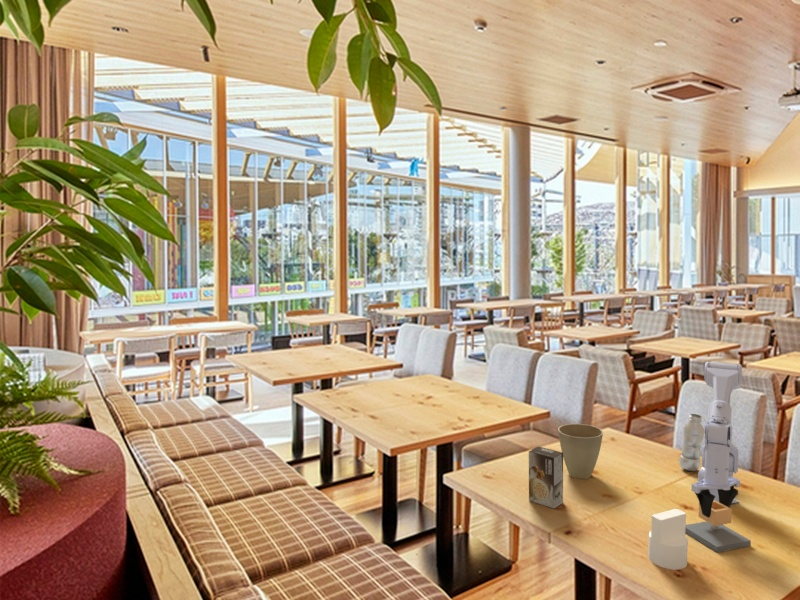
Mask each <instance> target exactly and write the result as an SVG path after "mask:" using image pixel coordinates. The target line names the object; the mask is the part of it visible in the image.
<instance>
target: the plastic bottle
mask: <svg viewBox="0 0 800 600" xmlns="http://www.w3.org/2000/svg"><path fill="white" fill-rule="evenodd" d="M702 417H703V416H702V415H700V414H698V413H690V414H689V418H688V422H687V423H686V424H685V425H684V427H683V446H682V449H681V454H680V456H679V459H678V461H679V467H681V469H683V470H685V471H689V472H697V471H699V469H700V468H701V448H702V447H701V446H702V443H703V440H704V427H703V425H702V419H703V418H702Z"/></svg>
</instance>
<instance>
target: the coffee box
mask: <svg viewBox="0 0 800 600" xmlns="http://www.w3.org/2000/svg"><path fill="white" fill-rule="evenodd" d="M528 501H529V502H532V503H536V504H539V505H542V506H545V507H548V508H552V509H556V508H558V507H560V505H562V504H563V503H564V458H563V452H562V451H558V450H555V449H551V448H550V449H549V448H546V447H542V446H535V447H533V448H532V449H530V450H529V451H528Z"/></svg>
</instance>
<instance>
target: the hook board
mask: <svg viewBox="0 0 800 600" xmlns="http://www.w3.org/2000/svg"><path fill="white" fill-rule="evenodd" d="M685 534H687V535H689V537H692V538H693V539H695V540H696V541H698V542H700V543H701V544H702V545H704V546H706V547H707V548H709V549H711V550H712V551H713V552H715V553H721V552H727V551H732V550H736V549H737V550H738V549H742V548H746V547H750V546H751V544H752V543H751V542H752V541H751V539H749V538H747V537H745V536H744V535H742V534H740V533H739V532H736V531H735V530H733V529H732V528H730V527H728V526H726V525H725V524H723V525H718V526H714V525H712V524H710V523H708V522H707V521H705V520H704V521H700V522H695V523H690V524H686V527H685Z"/></svg>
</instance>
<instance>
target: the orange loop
mask: <svg viewBox="0 0 800 600" xmlns="http://www.w3.org/2000/svg"><path fill="white" fill-rule="evenodd" d="M732 513H733V509H732V508H731V507H730V508H729V507H727V506H725V505H723V504H721V503H719V502H718V501H716V500H714V501H713V503H712V508H711V514H710V517H706V516H704V515H703V514H702V510H701V506H700V503H699V502H698V518H700V519H702V520H704V522H705V521H707V522H708V523H710V524H712V525H714V526H718V525H728V524H732V515H733V514H732Z"/></svg>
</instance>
